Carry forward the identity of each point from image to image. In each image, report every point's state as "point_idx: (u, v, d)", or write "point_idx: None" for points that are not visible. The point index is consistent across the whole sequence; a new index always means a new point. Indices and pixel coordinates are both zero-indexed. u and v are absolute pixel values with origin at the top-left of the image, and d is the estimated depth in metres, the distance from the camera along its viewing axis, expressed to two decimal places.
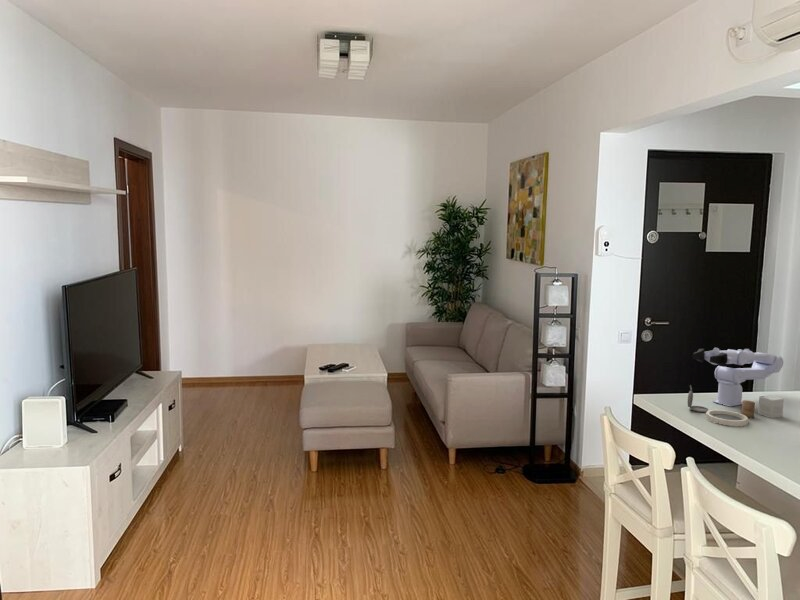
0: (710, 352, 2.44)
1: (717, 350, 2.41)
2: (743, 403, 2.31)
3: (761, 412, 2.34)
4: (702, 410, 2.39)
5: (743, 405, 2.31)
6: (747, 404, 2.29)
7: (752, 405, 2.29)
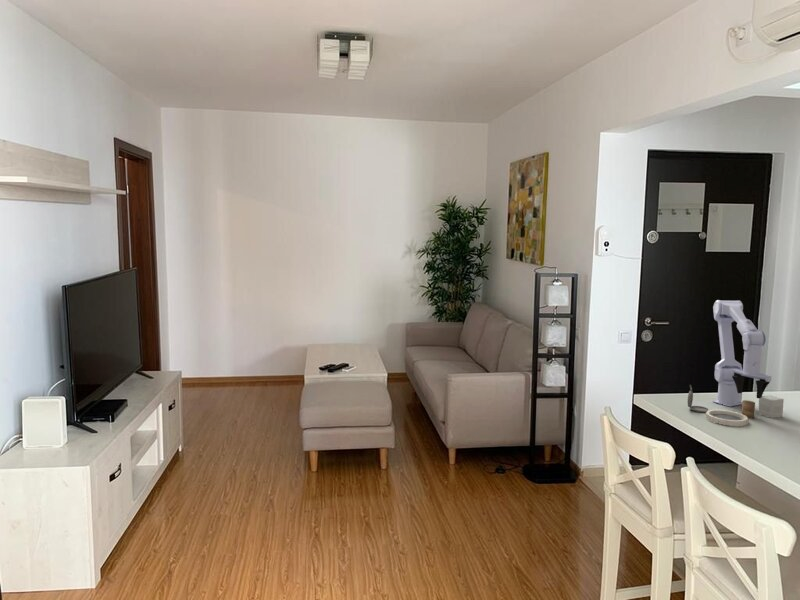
0: (743, 374, 2.31)
1: (748, 375, 2.28)
2: (743, 403, 2.31)
3: (761, 412, 2.34)
4: (702, 410, 2.39)
5: (743, 405, 2.31)
6: (747, 404, 2.29)
7: (752, 405, 2.29)
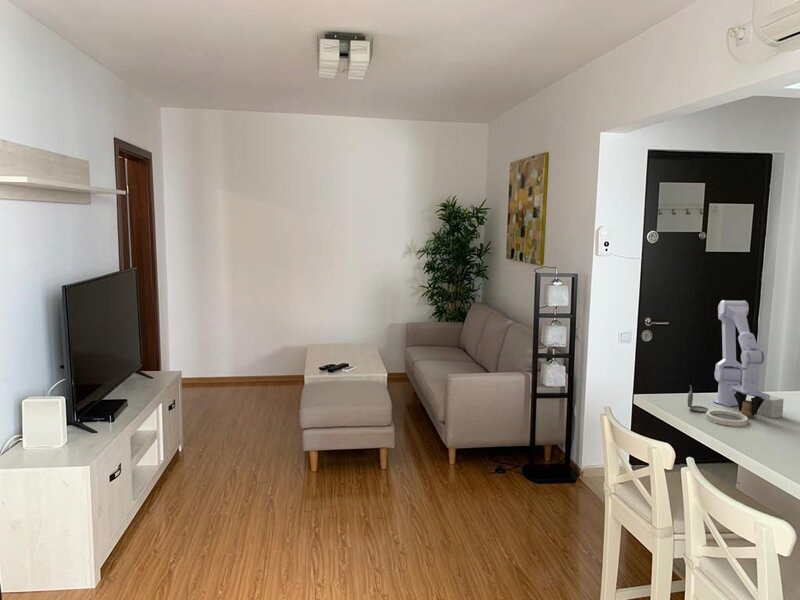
0: None
1: (746, 393, 2.28)
2: (743, 403, 2.31)
3: (761, 412, 2.34)
4: (702, 410, 2.39)
5: (743, 405, 2.31)
6: (747, 404, 2.29)
7: None
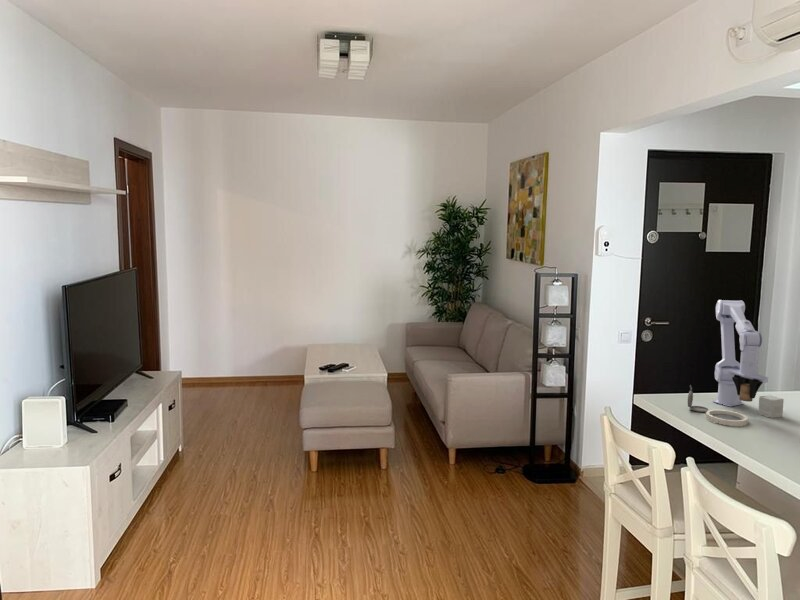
0: (739, 374, 2.30)
1: None
2: (741, 386, 2.29)
3: (761, 412, 2.34)
4: (702, 410, 2.39)
5: (741, 388, 2.29)
6: (745, 387, 2.28)
7: None
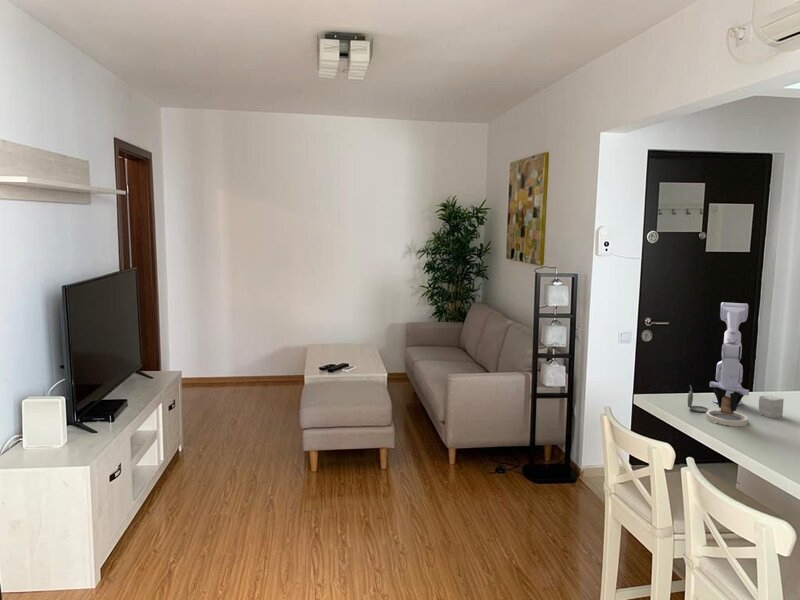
0: None
1: (725, 389, 2.23)
2: (722, 399, 2.26)
3: (761, 412, 2.34)
4: (702, 410, 2.39)
5: (722, 401, 2.26)
6: (726, 400, 2.24)
7: None
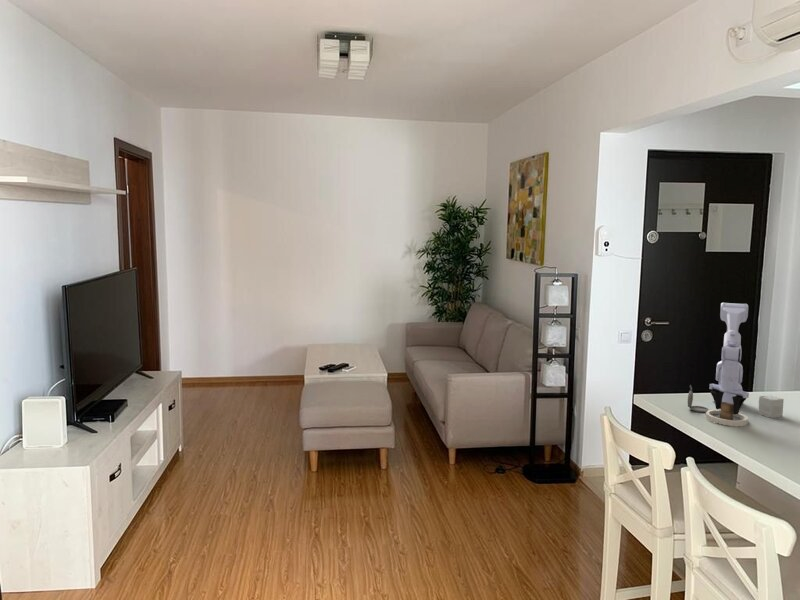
0: None
1: (725, 391, 2.23)
2: (722, 405, 2.26)
3: (761, 412, 2.34)
4: (702, 410, 2.39)
5: (722, 407, 2.26)
6: (726, 406, 2.25)
7: (731, 407, 2.24)
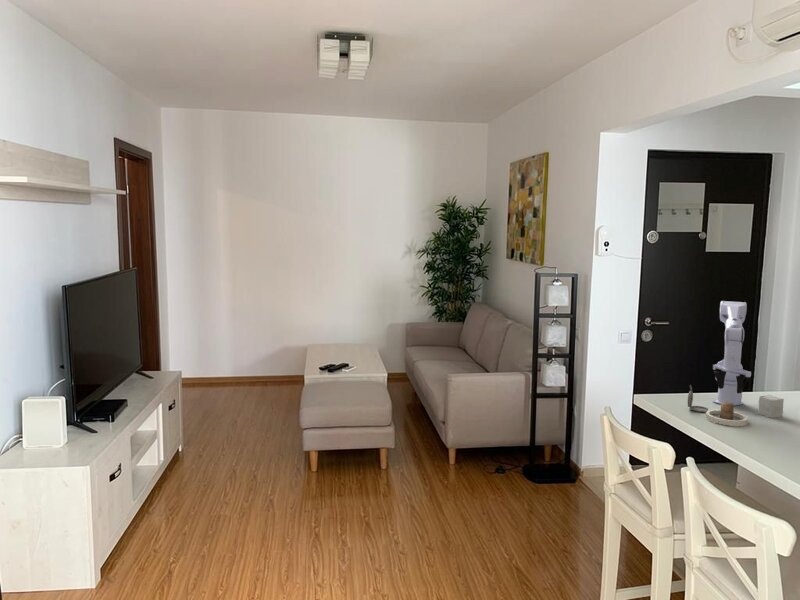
0: (724, 369, 2.34)
1: (728, 371, 2.31)
2: (722, 405, 2.26)
3: (761, 412, 2.34)
4: (702, 410, 2.39)
5: (722, 407, 2.26)
6: (726, 406, 2.25)
7: (731, 407, 2.24)
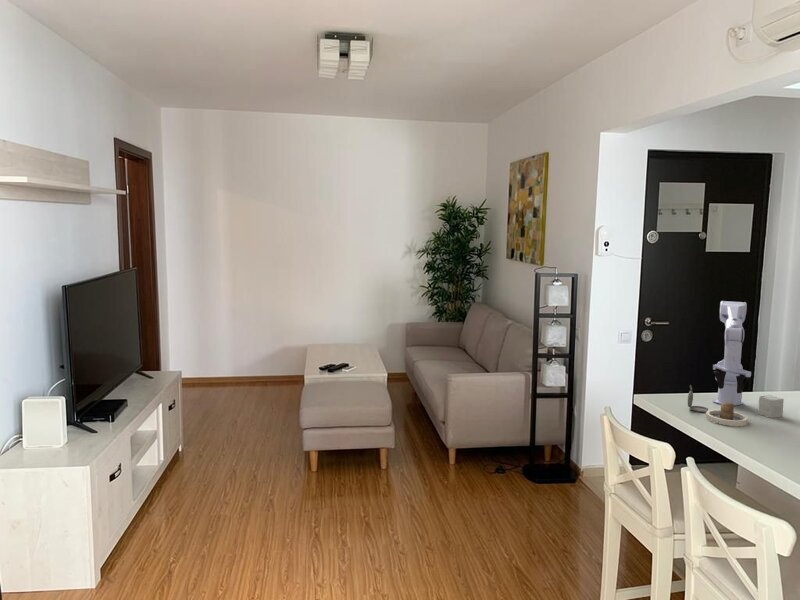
0: (724, 369, 2.34)
1: (728, 371, 2.31)
2: (722, 405, 2.26)
3: (761, 412, 2.34)
4: (702, 410, 2.39)
5: (722, 407, 2.26)
6: (726, 406, 2.25)
7: (731, 407, 2.24)
